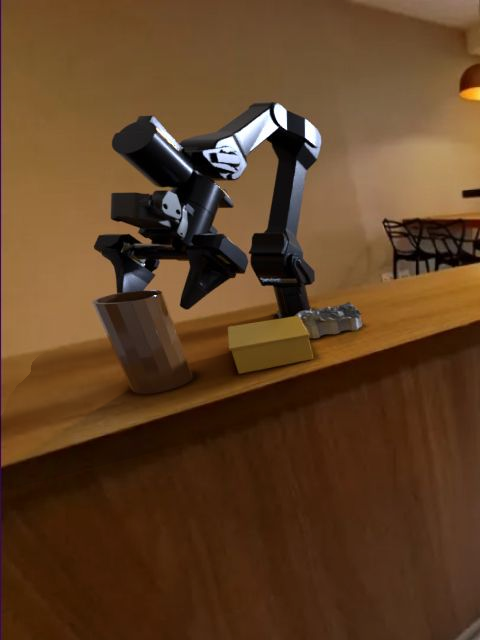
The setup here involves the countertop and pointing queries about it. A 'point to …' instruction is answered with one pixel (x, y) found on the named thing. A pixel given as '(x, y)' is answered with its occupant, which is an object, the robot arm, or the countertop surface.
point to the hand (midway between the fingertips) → (152, 307)
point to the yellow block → (269, 344)
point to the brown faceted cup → (144, 340)
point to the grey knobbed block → (331, 320)
